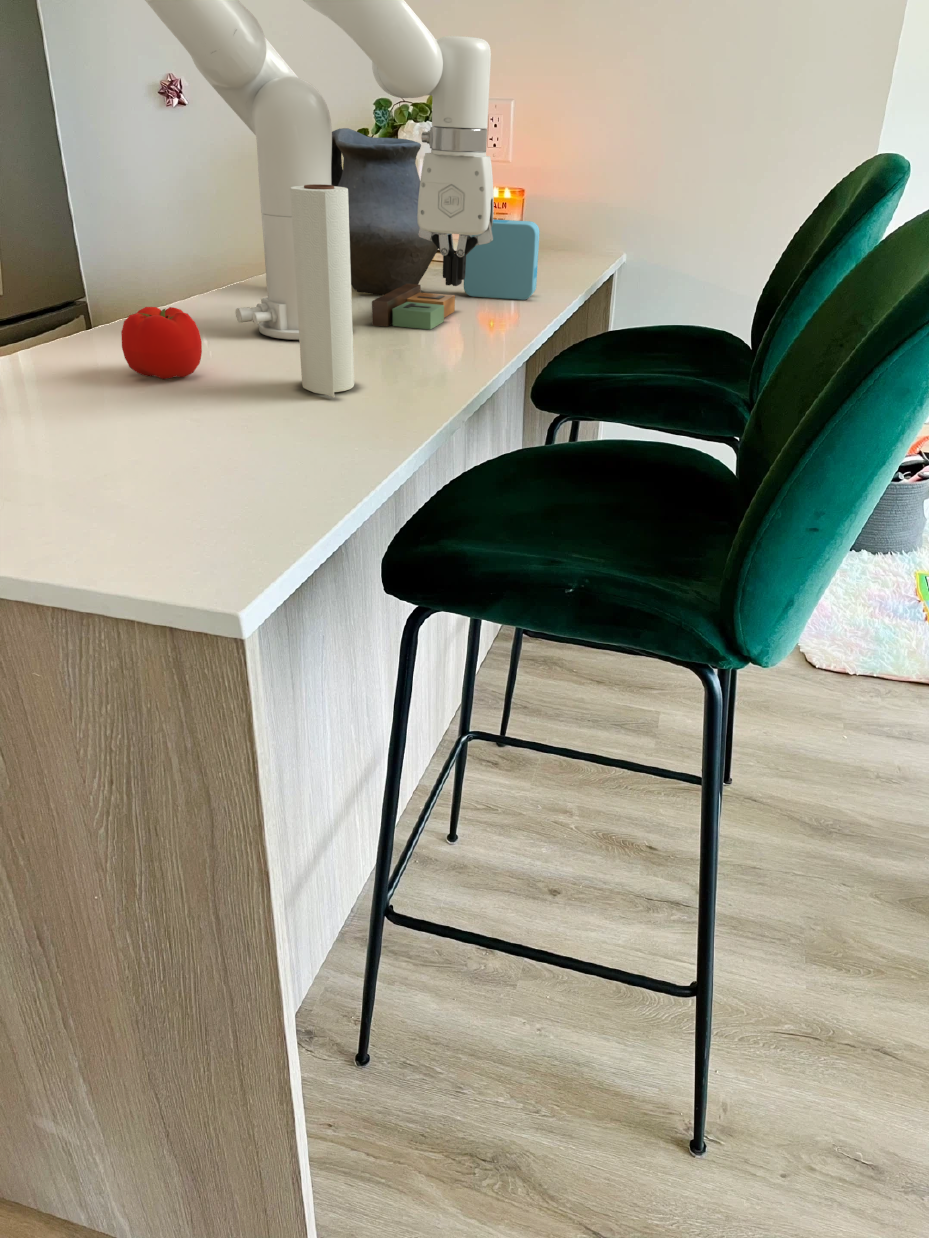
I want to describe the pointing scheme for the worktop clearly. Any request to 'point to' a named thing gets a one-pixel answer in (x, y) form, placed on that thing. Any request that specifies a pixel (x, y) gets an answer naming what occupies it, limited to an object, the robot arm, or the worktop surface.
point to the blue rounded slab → (504, 262)
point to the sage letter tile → (418, 315)
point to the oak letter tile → (435, 301)
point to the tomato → (161, 342)
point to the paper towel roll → (323, 287)
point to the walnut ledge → (391, 303)
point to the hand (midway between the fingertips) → (453, 284)
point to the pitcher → (381, 210)
